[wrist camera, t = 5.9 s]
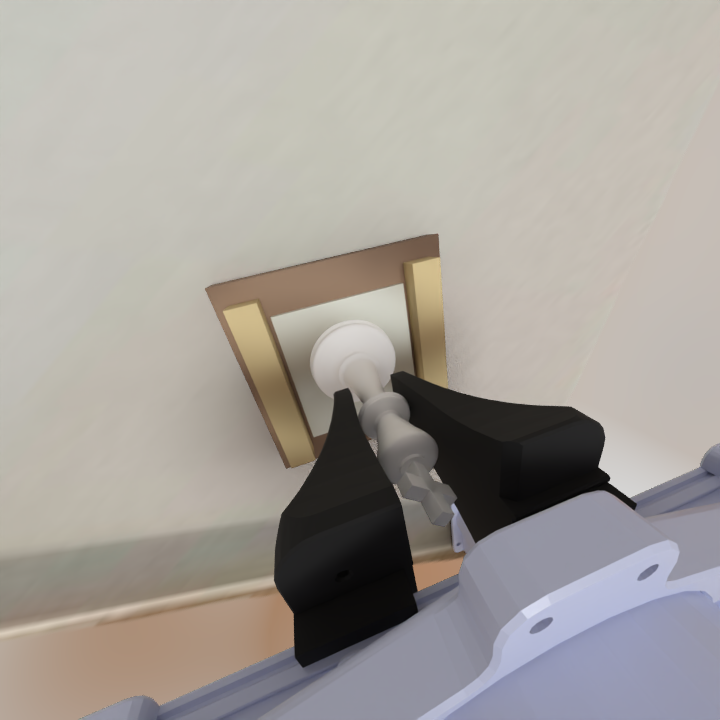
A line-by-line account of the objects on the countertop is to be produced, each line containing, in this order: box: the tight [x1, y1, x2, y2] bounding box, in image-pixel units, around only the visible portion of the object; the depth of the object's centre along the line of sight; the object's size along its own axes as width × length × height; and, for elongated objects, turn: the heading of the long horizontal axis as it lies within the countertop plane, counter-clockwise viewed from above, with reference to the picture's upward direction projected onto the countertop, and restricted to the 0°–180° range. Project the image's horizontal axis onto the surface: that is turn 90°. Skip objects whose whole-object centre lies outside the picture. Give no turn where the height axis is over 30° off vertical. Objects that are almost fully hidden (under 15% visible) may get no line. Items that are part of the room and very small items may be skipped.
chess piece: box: [310, 320, 457, 527], centre depth 11 cm, size 5×5×10 cm
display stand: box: [205, 234, 448, 469], centre depth 16 cm, size 12×12×2 cm
